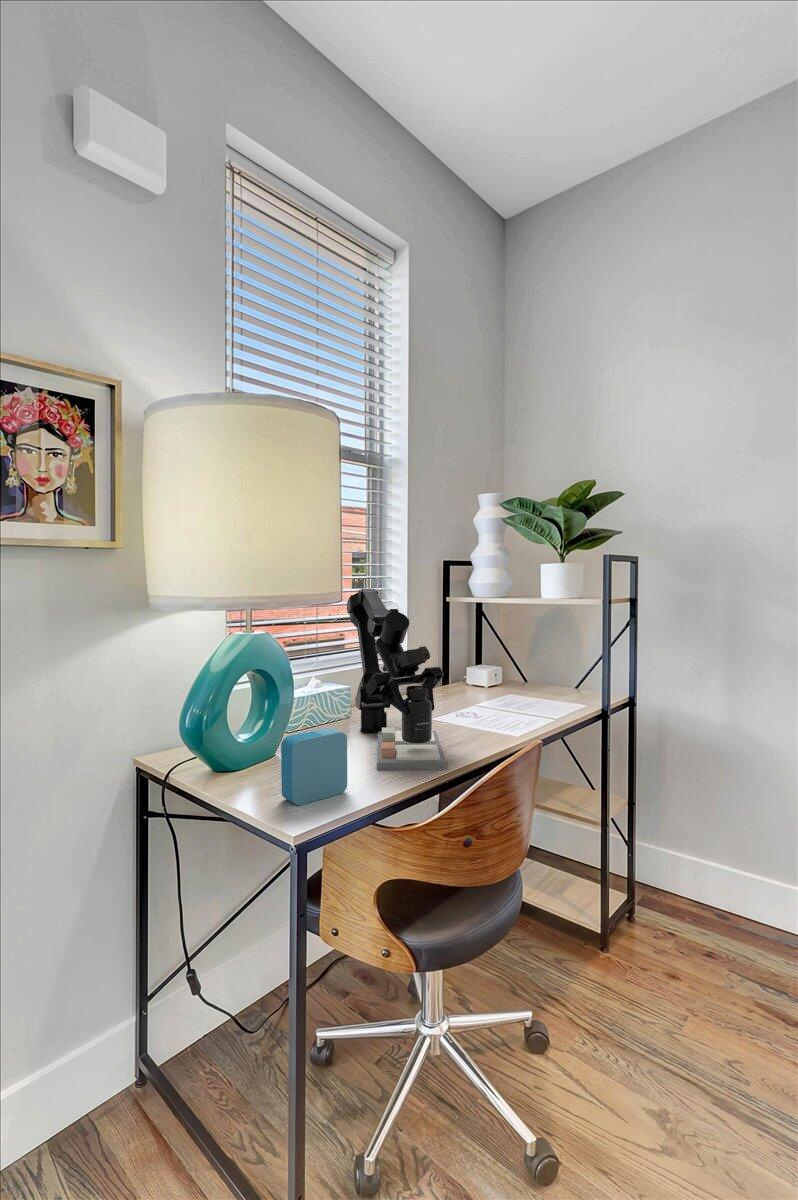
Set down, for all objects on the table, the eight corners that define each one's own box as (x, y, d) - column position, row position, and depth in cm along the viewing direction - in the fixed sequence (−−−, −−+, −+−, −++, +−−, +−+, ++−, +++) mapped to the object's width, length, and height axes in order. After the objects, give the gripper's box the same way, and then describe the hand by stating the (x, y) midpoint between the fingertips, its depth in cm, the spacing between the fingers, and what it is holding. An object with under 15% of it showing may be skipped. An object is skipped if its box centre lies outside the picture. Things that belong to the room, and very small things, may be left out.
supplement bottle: (423, 745, 132) (423, 691, 131) (396, 741, 135) (395, 688, 134) (437, 737, 138) (436, 685, 137) (410, 734, 141) (410, 683, 140)
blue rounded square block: (334, 786, 120) (334, 726, 119) (348, 792, 116) (347, 730, 116) (281, 800, 112) (280, 736, 112) (293, 807, 109) (292, 742, 108)
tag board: (376, 769, 130) (376, 753, 129) (378, 737, 156) (378, 723, 155) (446, 769, 130) (446, 753, 130) (436, 736, 156) (436, 723, 156)
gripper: (372, 637, 133) (399, 696, 125) (439, 632, 143) (469, 686, 135) (354, 668, 140) (379, 725, 132) (420, 661, 150) (447, 714, 142)
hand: (420, 712), depth 135 cm, fingers closed on supplement bottle, 7 cm apart
